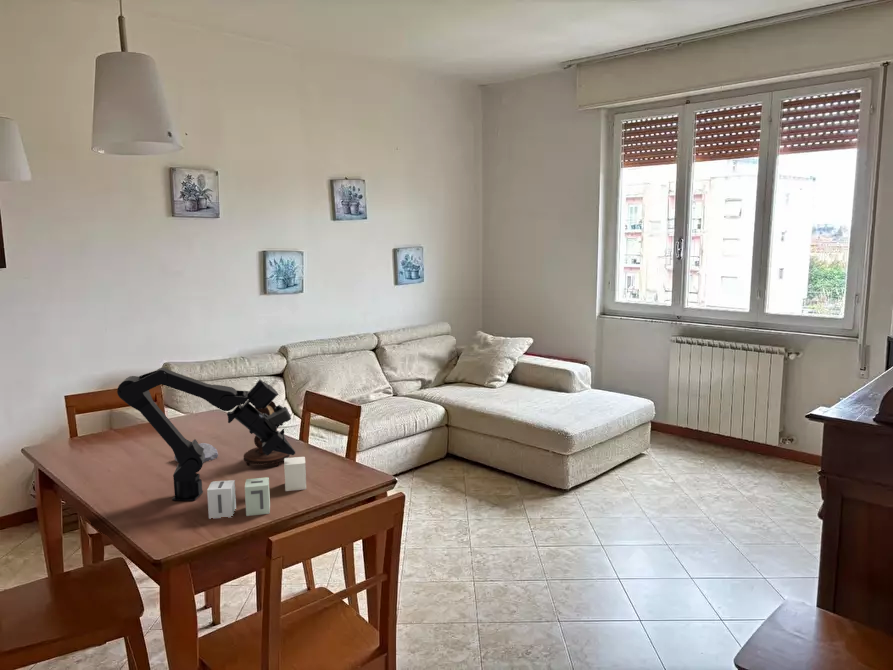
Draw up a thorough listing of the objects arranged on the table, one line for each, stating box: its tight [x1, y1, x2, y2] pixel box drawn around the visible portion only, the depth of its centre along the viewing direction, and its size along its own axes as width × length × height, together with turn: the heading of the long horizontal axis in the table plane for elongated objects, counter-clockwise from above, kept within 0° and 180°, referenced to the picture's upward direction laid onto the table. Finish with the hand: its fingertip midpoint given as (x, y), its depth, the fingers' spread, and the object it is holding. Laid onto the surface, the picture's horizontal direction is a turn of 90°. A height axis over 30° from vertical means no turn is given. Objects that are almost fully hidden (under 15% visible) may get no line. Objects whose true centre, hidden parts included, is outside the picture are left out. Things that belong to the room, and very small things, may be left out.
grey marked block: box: [206, 479, 237, 520], centre depth 172 cm, size 6×6×8 cm
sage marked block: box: [244, 476, 271, 517], centre depth 174 cm, size 6×6×8 cm
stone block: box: [174, 442, 219, 463], centre depth 215 cm, size 12×5×10 cm
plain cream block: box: [283, 456, 307, 492], centre depth 191 cm, size 6×6×8 cm
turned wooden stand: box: [243, 400, 291, 467], centre depth 212 cm, size 15×15×20 cm
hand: (294, 453), depth 190 cm, fingers closed
